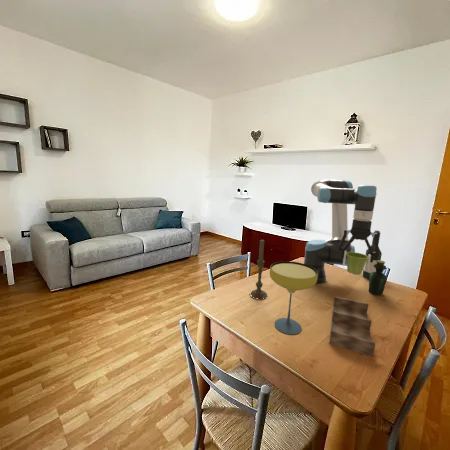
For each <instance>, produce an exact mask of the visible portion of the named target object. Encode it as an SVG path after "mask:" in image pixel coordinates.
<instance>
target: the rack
mask: <svg viewBox="0 0 450 450" xmlns="http://www.w3.org/2000/svg"><path fill="white" fill-rule="evenodd" d="M368 309H369V303H366V302H362V301H358V300H353V299H349V298H346V297H345V298H344V297H340V296H336V295H334V297H333V305H332V312H331V313H332V315H331V325H330V334H329V344H331V345H333V346H336V347H340V348H343V349H346V350H348V351H352V352H355V353H359V354H363V355H365V356H369V357H374V353H375V347H376V342H375V341H372V334H371V325H372V320H371V319H369V317H368V316H369V315H368Z"/></svg>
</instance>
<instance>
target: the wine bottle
mask: <svg viewBox="0 0 450 450" xmlns="http://www.w3.org/2000/svg"><path fill="white" fill-rule="evenodd" d="M373 233H377V234H378V237H377V243H378V245H379V244H380V239H381V238H380V237H381V232H380V230H374V231H373ZM371 241H372V242H371V244H370V246H371V249H372V251H373V252H375V247H374V240H373V239H372V240H371ZM378 250H379V255H375V256H374V258H373V262H370V265H369V270H368V269H367V268H366V267H367V261H366V262H365V265H364V268H363V271H362V274H363V276H362V277H363V278H364V279H367V280H369V277H370V273H372V272H376V268H375V267H374V264H377V260H381V259H382V255H383V253H382V251H381V249H380V247H379V246H378ZM368 254H370V251H369V249H368V248H367V249H366V250H365V255H367V256H368ZM367 260H368V259H367ZM381 261H382V260H381Z"/></svg>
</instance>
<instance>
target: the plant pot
mask: <svg viewBox="0 0 450 450" xmlns="http://www.w3.org/2000/svg"><path fill="white" fill-rule="evenodd" d="M346 255H347V265H346V266H347V267H346V271H347V272H348V273H349V274H353V275H356V276H357V275H358V276H360V275H362V274H363V268H364V265H365V262H366V261H367V259H368V258H369V257H368V256H367V255H366V254H364V253H359V252H356V251H355V252H347V253H346Z"/></svg>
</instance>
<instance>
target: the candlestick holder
mask: <svg viewBox="0 0 450 450" xmlns="http://www.w3.org/2000/svg"><path fill="white" fill-rule="evenodd" d="M264 248H265V240H264V239H260V240H259V248H258V260H256V263H257V264H256V266H257V267H258V268H257V269H258V271H257V274H258V278H257V282H255V286H256V289H253V290H252V292H251V291H250V292H251V295H252V297H254V298H258V299H262V300H264V299H263V298H266V297H267V298H268V296H267V295H268V293H267V292H266V291H264V290H263V289H262V287H263V286H264V285H263V282H262V275H263V268H264V266H265V260H264V251H265V249H264ZM252 297H251V298H252ZM254 298H253V299H254ZM267 298H266V299H267ZM258 299H257V300H258Z"/></svg>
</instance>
